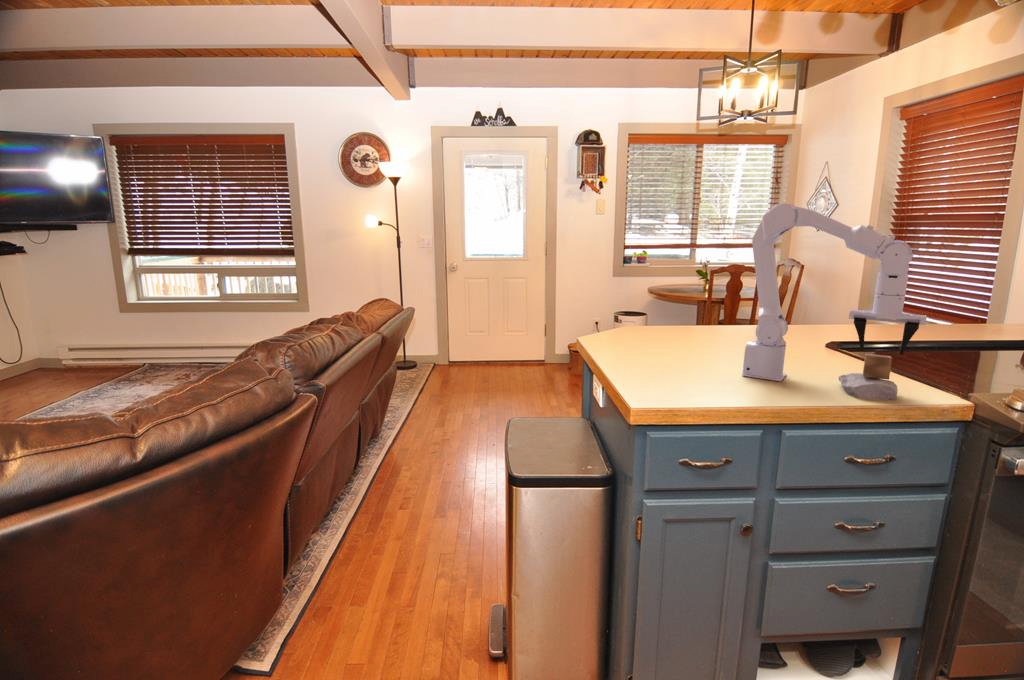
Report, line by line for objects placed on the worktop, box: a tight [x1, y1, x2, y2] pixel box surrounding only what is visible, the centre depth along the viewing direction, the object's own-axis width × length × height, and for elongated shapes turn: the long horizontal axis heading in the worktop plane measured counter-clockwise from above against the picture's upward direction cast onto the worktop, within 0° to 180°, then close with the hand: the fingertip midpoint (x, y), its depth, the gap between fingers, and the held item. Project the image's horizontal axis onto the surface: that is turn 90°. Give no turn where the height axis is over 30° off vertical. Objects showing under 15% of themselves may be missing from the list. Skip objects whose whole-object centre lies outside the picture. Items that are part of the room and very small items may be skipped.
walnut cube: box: [862, 353, 893, 381], centre depth 125 cm, size 5×5×5 cm
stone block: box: [838, 372, 898, 401], centre depth 126 cm, size 12×5×10 cm
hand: (880, 351), depth 124 cm, fingers open, 7 cm apart
